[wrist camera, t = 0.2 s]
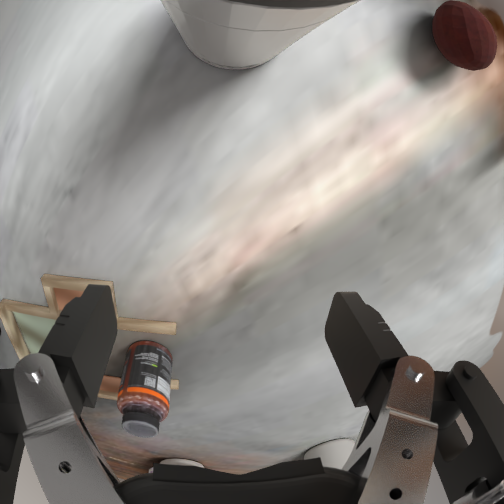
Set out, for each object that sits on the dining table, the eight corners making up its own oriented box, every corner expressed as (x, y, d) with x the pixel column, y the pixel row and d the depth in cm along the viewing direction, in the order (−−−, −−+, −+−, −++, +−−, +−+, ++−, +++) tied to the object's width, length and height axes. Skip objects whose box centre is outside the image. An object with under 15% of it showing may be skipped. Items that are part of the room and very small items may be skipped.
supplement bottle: (135, 368, 36) (123, 440, 26) (122, 338, 33) (102, 414, 23) (177, 368, 37) (173, 442, 27) (167, 337, 34) (158, 417, 24)
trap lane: (-8, 266, 26) (-15, 275, 25) (175, 287, 30) (174, 298, 29) (38, 378, 36) (35, 387, 35) (179, 402, 41) (179, 412, 39)
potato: (426, 67, 22) (473, 68, 15) (410, 0, 18) (453, -12, 12) (470, 71, 21) (515, 76, 15) (457, 11, 18) (500, 5, 11)
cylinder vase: (343, 453, 61) (367, 532, 39) (298, 462, 59) (317, 547, 37) (361, 432, 55) (393, 522, 33) (310, 442, 53) (336, 541, 31)
